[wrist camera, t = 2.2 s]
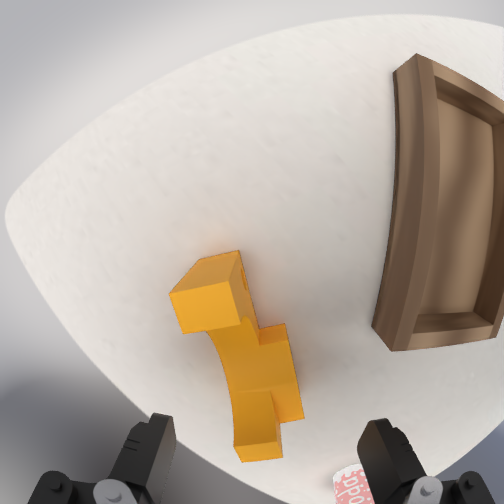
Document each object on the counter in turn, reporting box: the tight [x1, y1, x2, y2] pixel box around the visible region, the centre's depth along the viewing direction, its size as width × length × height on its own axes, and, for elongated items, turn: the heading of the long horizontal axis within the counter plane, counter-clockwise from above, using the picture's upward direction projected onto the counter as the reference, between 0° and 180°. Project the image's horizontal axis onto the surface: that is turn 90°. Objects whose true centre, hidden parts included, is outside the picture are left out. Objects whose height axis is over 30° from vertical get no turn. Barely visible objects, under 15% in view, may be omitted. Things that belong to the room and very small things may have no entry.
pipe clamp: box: [169, 250, 305, 462], centre depth 15 cm, size 12×4×6 cm, turn 13°
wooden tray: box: [371, 53, 504, 352], centre depth 14 cm, size 11×18×4 cm, turn 176°
